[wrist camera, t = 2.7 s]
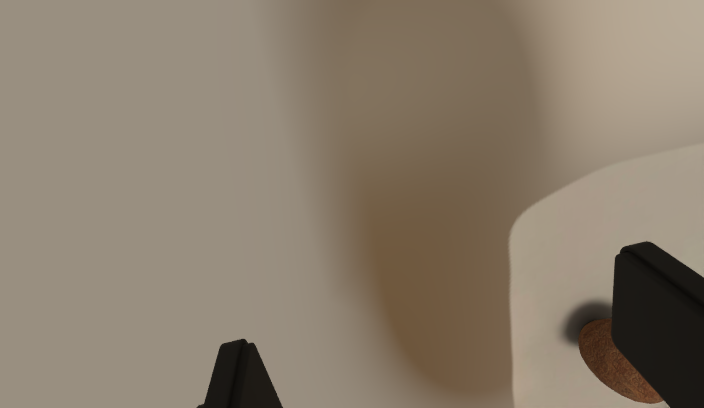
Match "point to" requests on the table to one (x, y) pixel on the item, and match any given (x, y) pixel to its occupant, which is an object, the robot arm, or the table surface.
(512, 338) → the table surface
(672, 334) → the robot arm
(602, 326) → the coconut
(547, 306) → the table surface
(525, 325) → the table surface
